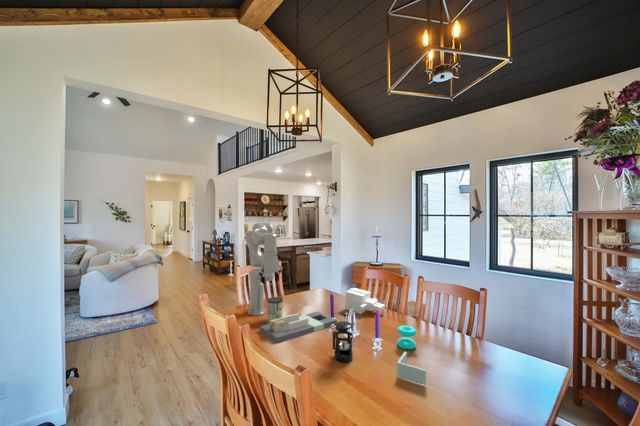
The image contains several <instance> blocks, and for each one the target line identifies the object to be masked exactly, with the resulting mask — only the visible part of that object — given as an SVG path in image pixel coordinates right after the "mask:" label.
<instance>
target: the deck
mask: <svg viewBox="0 0 640 426" xmlns="http://www.w3.org/2000/svg"><path fill="white" fill-rule="evenodd" d="M331 317H332V316H329V315H327V314H325V313H322V312H320V311H314V312H309V313H306V314H302V315H300V313H298V312H297V313H295V314H290V315H286V316H282V317H281V318H280V319H281V320H283V321H284V330H281V331H278V332H274V331H273V330H271V329H270V323H268V324H264V325H260V326H259V332H260V333H262V334H263V335H265V336H266V337H267V338H269V339H270V340H271V341H272V342H274V343H276V344H278V343H282V342H285V341H288V340H292V339H294V338H297V337H301V336H304V335H308V334H311V333H314V332H316V331H321V330H323V329H327V328H330V327H332V326H331V325H332V324H336V323H337V322H338V319H336V318H333V317H332V318H333V319H332V318H331Z"/></svg>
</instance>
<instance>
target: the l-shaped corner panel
mask: <svg viewBox="0 0 640 426" xmlns="http://www.w3.org/2000/svg"><path fill="white" fill-rule="evenodd" d="M407 359H408V352H407V351H404V352H403V354H402V355H401V356H400V358H399V359H398V360H397V362H396V378H397V377H399V378H402V379H406V380H410V381H413V382H416V383H420V384H424V385H425V384H426V381H427V379H426V378H427V375H426V374H427V370H426V369H424V368H421V367H417V366H415V365H411V364H407V363H408V362H407V361H408V360H407ZM426 385H427V384H426Z"/></svg>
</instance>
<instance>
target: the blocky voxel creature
mask: <svg viewBox="0 0 640 426" xmlns="http://www.w3.org/2000/svg"><path fill="white" fill-rule="evenodd" d="M371 297H372V292H371V291H368V290H365V289H360V288H357V287H352V288H349V289H348V290H346V291H345V297H344V298H345V299H344V300H345V301H344V310H347V311H350V309H352V308H354V310H355V312H354V313H356V314H359V313H360V314H359V315H363V314H364V313H366V312H367V311H371V312H373V311H375V310H377V311H380V312H382V311H383V310H384V309H386V305H385V304H383V303H380V302H379V300H378V298H377V297H373V298H371ZM366 310H367V311H366ZM365 311H366V312H365ZM363 312H364V313H363ZM362 313H363V314H362Z"/></svg>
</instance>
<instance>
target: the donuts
mask: <svg viewBox="0 0 640 426" xmlns="http://www.w3.org/2000/svg"><path fill="white" fill-rule="evenodd" d="M396 331H397V333H398V334H399V335H401V336H402V337H400V338H399V339H398V340H397V342H396V343H397V346H398V347H401V349H402V348H404V349H403V350H406V349H412V350H414V349H413V348H415V347H417V343H416V342H415V340H413V339H411V338H413V337H415V336H416V335H417V330H416V329H415V328H414V327H412V326H410V325H400V326H398V327H397V330H396ZM415 349H416V348H415Z"/></svg>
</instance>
